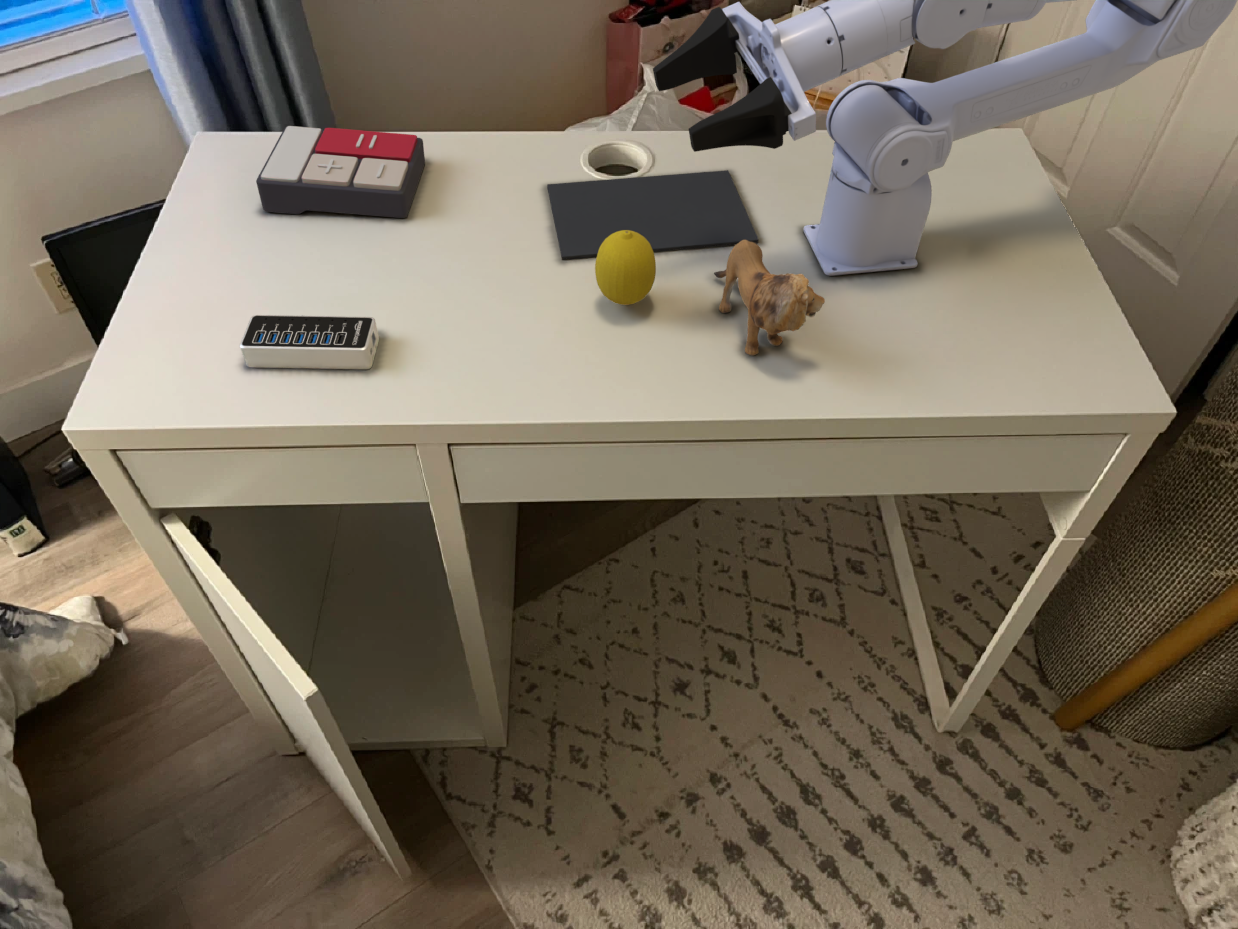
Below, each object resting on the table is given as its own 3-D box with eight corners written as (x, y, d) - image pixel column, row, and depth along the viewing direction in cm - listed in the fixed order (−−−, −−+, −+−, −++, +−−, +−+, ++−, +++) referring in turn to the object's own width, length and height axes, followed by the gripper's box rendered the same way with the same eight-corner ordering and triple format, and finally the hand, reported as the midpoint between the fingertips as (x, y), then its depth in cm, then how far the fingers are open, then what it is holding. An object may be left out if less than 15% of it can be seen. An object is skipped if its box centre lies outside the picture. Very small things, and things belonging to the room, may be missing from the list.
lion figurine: (818, 365, 83) (837, 284, 77) (766, 382, 82) (781, 300, 75) (736, 271, 92) (747, 191, 85) (688, 285, 90) (695, 204, 84)
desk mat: (727, 173, 104) (728, 169, 103) (758, 242, 95) (758, 239, 95) (547, 187, 101) (547, 183, 101) (562, 260, 93) (562, 256, 93)
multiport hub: (258, 333, 85) (251, 313, 83) (380, 336, 85) (375, 316, 83) (245, 367, 82) (237, 347, 80) (371, 369, 82) (366, 349, 80)
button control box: (403, 187, 94) (252, 175, 94) (407, 224, 97) (262, 212, 97) (422, 130, 101) (283, 119, 101) (426, 166, 105) (291, 155, 104)
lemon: (648, 326, 86) (651, 254, 80) (589, 317, 87) (588, 245, 81) (658, 289, 90) (662, 217, 84) (602, 281, 91) (602, 210, 85)
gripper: (786, -53, 76) (632, 14, 76) (870, 59, 70) (703, 132, 70) (788, 19, 83) (646, 81, 83) (866, 128, 76) (712, 195, 76)
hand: (673, 109), depth 77 cm, fingers open, 7 cm apart
